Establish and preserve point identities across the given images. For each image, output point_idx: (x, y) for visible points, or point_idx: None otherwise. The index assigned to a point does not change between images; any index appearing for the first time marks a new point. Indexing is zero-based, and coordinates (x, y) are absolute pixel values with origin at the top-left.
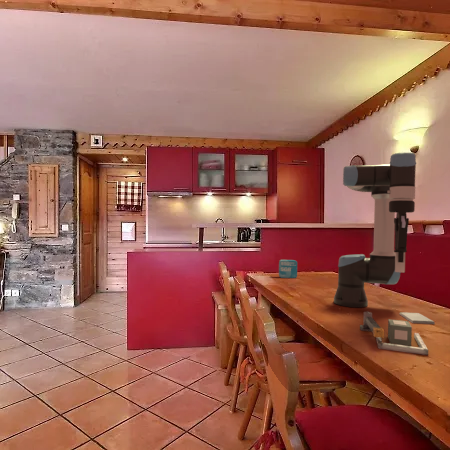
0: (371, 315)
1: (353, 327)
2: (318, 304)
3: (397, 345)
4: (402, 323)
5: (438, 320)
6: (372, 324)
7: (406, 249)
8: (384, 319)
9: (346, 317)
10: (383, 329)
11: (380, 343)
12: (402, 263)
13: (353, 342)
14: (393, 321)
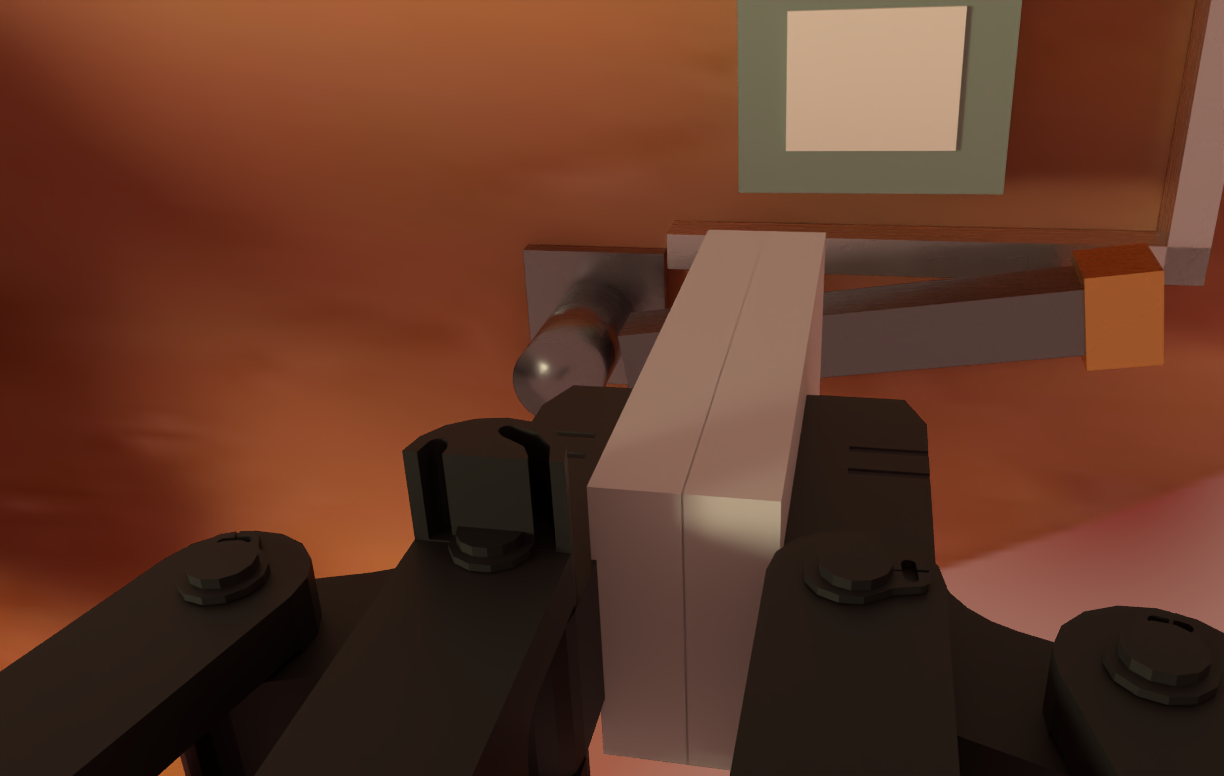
0: (582, 341)
1: None
2: None
3: (1221, 107)
4: (901, 51)
5: None
6: (939, 360)
7: (1204, 646)
8: (149, 118)
9: (301, 465)
10: (1139, 275)
11: (1201, 265)
12: (810, 384)
13: (1078, 460)
14: (848, 148)
